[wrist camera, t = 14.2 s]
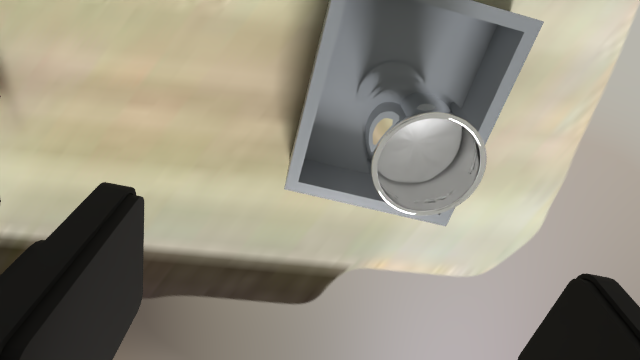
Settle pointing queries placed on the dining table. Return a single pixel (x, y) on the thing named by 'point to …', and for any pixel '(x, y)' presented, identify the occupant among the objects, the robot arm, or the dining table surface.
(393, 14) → the box
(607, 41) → the dining table surface
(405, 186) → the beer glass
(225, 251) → the dining table surface
